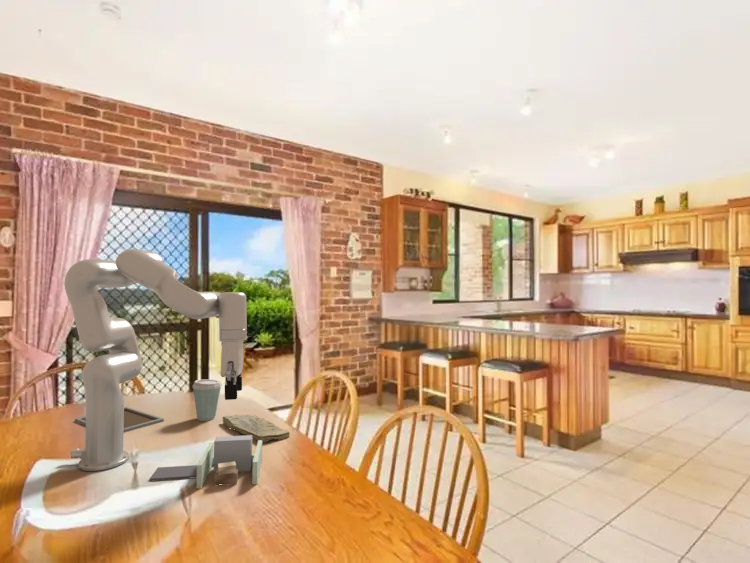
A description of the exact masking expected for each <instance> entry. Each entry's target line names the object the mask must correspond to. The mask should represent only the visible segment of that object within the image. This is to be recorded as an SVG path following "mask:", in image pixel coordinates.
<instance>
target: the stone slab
mask: <svg viewBox="0 0 750 563" xmlns="http://www.w3.org/2000/svg"><path fill="white" fill-rule="evenodd" d="M222 421H223V425H225V424H226V425H227V426H228V427H229V428H231V429H235V430H234V431H236V430H238V431H237V432H239V433H240V434H242V435H243V436H246V435H252V438H253V439H252V440H255V441H258V440H262V443H267V442H268V441H272V440H271V439H275V440H274V441H280V439H281V440H284V438H285V439H287V438H289V437H290V431H289V430H288V429H287V430H286V429H283V428H280V427H279V426H277V425H275V423H274V422H272V421H270V420H267V419H265V418H264V417H260V416H258V415H257V416H256V414H242V415H241V414H234V415H225V416H222ZM226 425H225V426H226ZM227 426H226V427H227ZM228 427H227V428H228ZM276 439H278V440H276ZM267 440H268V441H267ZM266 441H267V442H266Z"/></svg>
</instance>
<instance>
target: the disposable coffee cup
mask: <svg viewBox="0 0 750 563" xmlns="http://www.w3.org/2000/svg"><path fill="white" fill-rule="evenodd" d="M221 388H222V382H221V381H219V380H217V379H198V380H197V379H196V380H195V381H194V382H193V384H192V389H193V396H194V397H193V398H194V403H195V405H194V406H195V413H196V418H197V420H198V421H201V422H206V421H207V422H208V421H212V420H214V419H215V418H216V415H217V410H218V405H219V404H218V403H219V399H220V393H221Z"/></svg>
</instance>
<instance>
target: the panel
mask: <svg viewBox="0 0 750 563" xmlns="http://www.w3.org/2000/svg"><path fill="white" fill-rule="evenodd" d="M190 477H197V464H195V465H177V466H162V467H161V466H160V467H159V466H158V467H157V468H156V470H155V471H154V473H152V474H151V476H150V478H149V481H148V482H152V480H156V481H168V479H171V480H184V478H186V479H191V478H190Z"/></svg>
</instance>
